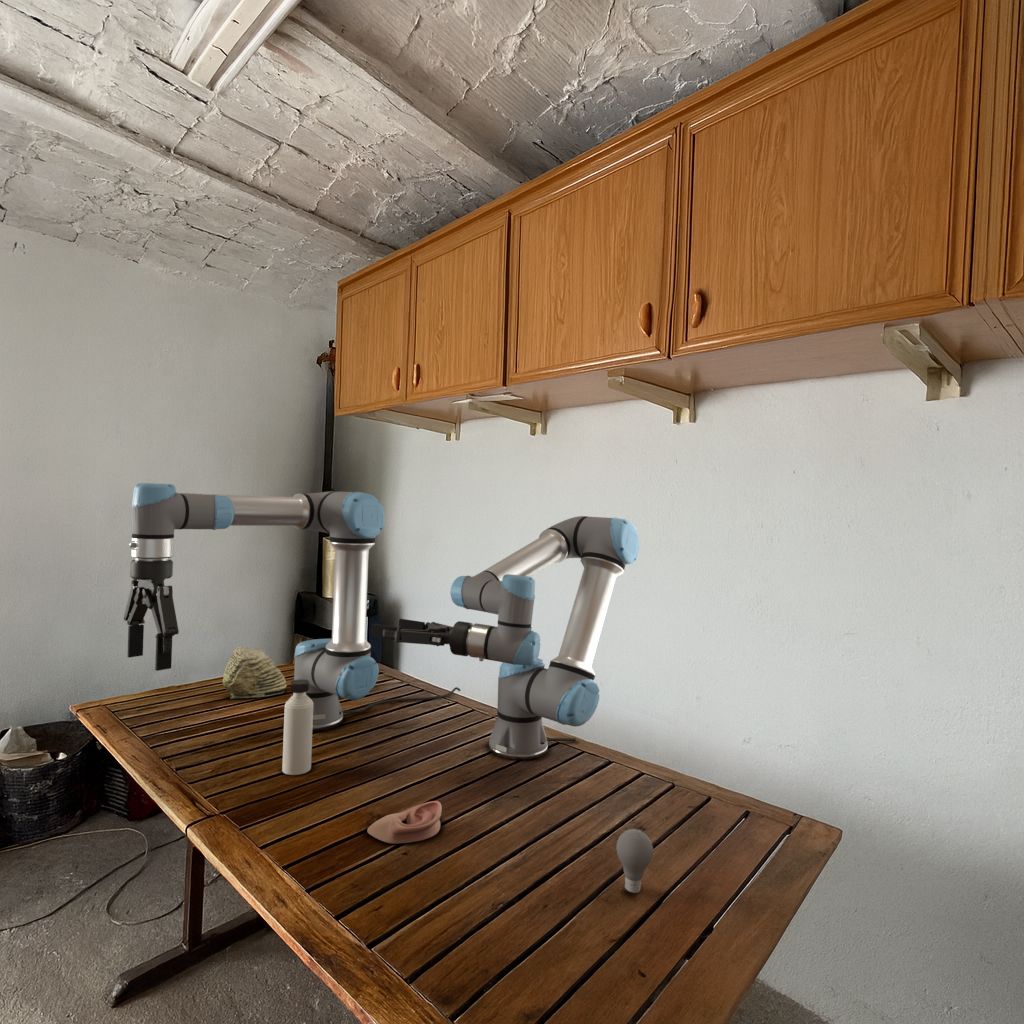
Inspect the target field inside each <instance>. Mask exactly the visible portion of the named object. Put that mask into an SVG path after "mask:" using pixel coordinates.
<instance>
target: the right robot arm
mask: <svg viewBox="0 0 1024 1024" xmlns="http://www.w3.org/2000/svg"><path fill="white" fill-rule="evenodd" d="M639 551H640V539H639V535H638V530H637V528H636V526H635V524H634V523H632V522H631V521H630V520H628V519H627V518H618V517H615V516H614V517H603V516H589V515H588V516H587V515H580V516H574V517H570V518H567V519H564V520H562V521H560V522H558V523H556V524H553V525H551V526H549V527H548V528H546V529H545V530H543V531H541V533H540V534H539V536H538V538H536V539H535V540H533V541H532V542H530V543H528V544H526V545H525V546H522V547H521V548H520V549H518V550H516V551H515V552H513V553H511V554H509V555H508V556H506V557H505V558H502V559H501V560H500V561H497V562H496V563H494V564H493V565H491V566H489V567H487V568H485V569H484V570H483V571H481V572H479V573H477V574H475V575H473V576H471V575H460V576H458V577H456V578H455V579H454V580H453V581H452V583H451V587H450V592H449V593H450V598H451V601H452V603H453V604H454V605H456V606H457V607H461V608H464V609H466V610H472V611H477V612H482V613H488V614H494V615H496V616H497V626H495V625H492V624H491V625H490V624H484V623H477V622H476V623H473V622H468V621H462V620H461V621H460V620H458V621H457V622H455V623H454V625H453V626H450V625H447V624H443V623H439V622H435V621H431V622H429V621H427V622H425V621H418V620H414V619H413V620H412V619H404V618H398V625H397V626H392V625H386V624H385V625H384V624H379V623H372V624H371V630H370V631H371V632H370V637H375V638H381V639H387V640H393V641H394V642H395V643H404V644H417V645H426V646H427V645H428V646H436V647H440V646H441V647H444V646H445V645H449V650H450V653H451V654H452V655H455V656H461V657H470V658H475V659H478V660H479V662H484V660H487V661H493V662H498V663H501V664H500V666H499V671H498V677H497V681H498V683H497V712H496V716H497V717H496V720H495V723H494V725H493V727H492V731H491V734H490V736H489V740H488V749H489V751H490V752H491V753H493V754H495V755H496V756H498V757H501V758H504V759H509V760H521V761H525V760H526V761H527V760H533V759H539V758H540V757H543V756H545V755H546V754H547V752H548V747H549V744H548V743H549V742H576V738H575V737H547V735H546V730H545V727H544V723H543V719H546V720H549V721H553V722H556V723H558V724H561V725H564V726H571V727H574V728H575V727H576V728H577V727H581V726H583V725H585V724H587V722H588V721H590V719H592V717H593V715H594V714H595V712H596V710H597V708H598V705H599V702H600V687H599V685H598V683H597V682H596V681H595V678H596V673H595V671H594V669H593V662H594V658H595V655H596V651H597V648H598V644H599V640H600V637H601V634H602V630H603V626H604V623H605V620H606V619H605V618H606V615H607V611H608V608H609V604H610V601H611V597H612V594H613V589H614V586H615V584H616V579H617V577H619V576H622V575H623V574H624V572H625V568H626V566H627V565H631V564H634V563H635V561H637V559H638V556H639ZM567 559H580V563H581V565H582V566H583V571H582V574H581V579H580V581H579V585H578V588H577V591H576V595H575V598H574V601H573V605H572V609H571V612H570V615H569V618H568V622H567V625H566V627H565V628H566V629H565V632H564V636H563V639H562V642H561V646H560V648H559V653H558V655H557V656H556V657H554V658H553V659H551V660H550V662H549V665H548V668H545V666H546V664H545V661H544V660H543V659H542V658H539V655H540V650H541V636H540V634H539V632H537V631H534V630H532V629H533V628H532V623H533V614H534V606H535V599H536V594H535V593H536V579H534V577H533V576H534V575H536V574H539V572H541V571H542V570H544V569H546V568H547V567H548V566H550V565H552V564H553V563H555V564H556V563H562V562H563V561H565V560H567Z"/></svg>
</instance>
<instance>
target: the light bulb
mask: <svg viewBox="0 0 1024 1024" xmlns="http://www.w3.org/2000/svg"><path fill="white" fill-rule="evenodd" d="M615 849H616V854H617V857H618V859H619V861H620V863H621V865H622V867H623V873H624V874H623V875H624V876H625V878H624V888H625V890H627V891H628V892H630V893H634V894H635V893H639V892H640V891H641V889H642V887H641V886H642V879H643V877H644V875H645V871H646V868H647V867H648V866H649V864H650V863H651V861H652V859H653V855H654V847H653V843H652V841H651V838H649V836H648V835H647V834H646V833H645V832H643V831H642V830H641V829H636V828H629V829H627V830H625V831H623V832H622V833H621V834H620V835H619V837H618V839H617V841H616V847H615Z"/></svg>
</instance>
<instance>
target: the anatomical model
mask: <svg viewBox="0 0 1024 1024" xmlns="http://www.w3.org/2000/svg"><path fill="white" fill-rule="evenodd" d="M442 812H443V807H442V804H441V802H440V801H438V800H431V801H426V802H424V803H421V804H418V805H415V806H412V807H410V808H408V809H405V810H403V811H401V812H397V813H391V814H387V815H385V816H383V817H381V818H379V819H377V820H376V821H374V822H373V823H372V824H371V825H369V826H368V828H367V831H366V832H367V833H368V834H369V835H370V836H372V837H373V838H375V839H377V840H379V841H381V842H384V843H387V844H394V845H395V844H408V843H414V842H420V841H424V840H426V839H429V838H432V837H434V836H436V835H437V834H438V833H439V831H440V829H441V820H440V819H441V816H442Z"/></svg>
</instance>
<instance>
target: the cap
mask: <svg viewBox="0 0 1024 1024" xmlns="http://www.w3.org/2000/svg"><path fill="white" fill-rule="evenodd" d="M308 690H309V681H308V680H304V679H298V680H294V679H293V680H292V681H290V692H291V693H304V692H307V691H308Z"/></svg>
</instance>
